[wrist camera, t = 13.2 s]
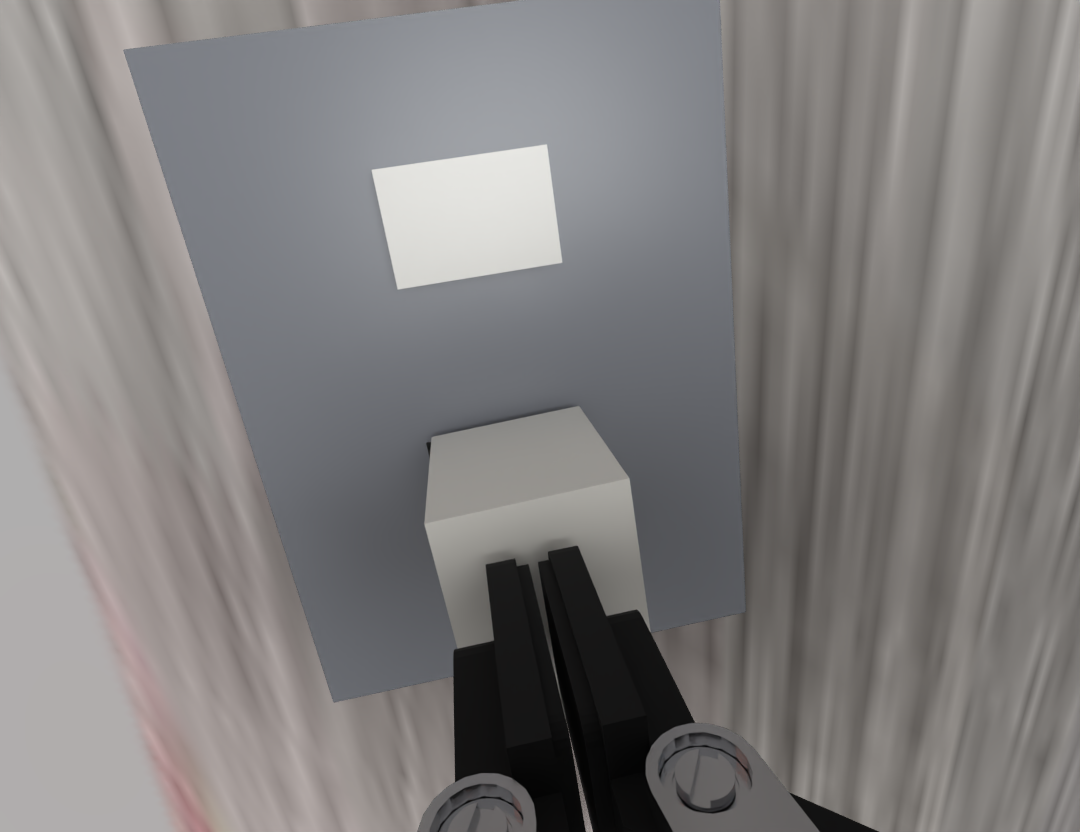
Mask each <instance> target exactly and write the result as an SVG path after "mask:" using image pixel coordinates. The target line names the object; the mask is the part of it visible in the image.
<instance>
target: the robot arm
mask: <svg viewBox="0 0 1080 832" xmlns="http://www.w3.org/2000/svg"><path fill="white" fill-rule="evenodd" d="M548 559H549V560H545V561H540V562H538V567H539V573H540V579H541V585H542V591H543V597H544V603H545V609H546V614H547V620H548V626H549V632H550V638H551V644H552V650H553V656H554V662H555V668H556V674H557V679H558V685H559V689H558V685H557V680H556V676H555V672H554V668H553V664H552V660H551V655H550V651H549V647H548V643H547V639H546V635H545V630H544V626H543V622H542V618H541V614H540V610H539V605H538V601H537V597H536V593H535V589H534V585H533V580H532V576H531V572H530V568H529V564H526V565H521V566H517V565H516V560H515V558H514V559H510V560H505V561H500V562H495V563H490V564H486V575H487V583H488V592H489V601H490V610H491V618H492V627H493V636H494V641H490V642H486V643H481V644H476V645H472V646H467V647H463V648H458V649H454V652H453V678H454V738H455V783H453V784H451V785H449V786H448V787H447V788H446V789H444V790H443V791H442V792H441V793H440V794H439V795H438V796H437V797H435V798H434V800H433V801H432V803H431V804H430V805H429V807H428V808H427V810H426V811H425V813H424V814H423V817H422V820H421V822H420V825H419V828H418V831H417V832H586V831H585V825H584V819H583V813H582V807H581V801H580V795H579V789H578V783H577V777H576V771H575V765H574V759H573V753H572V748H571V742H572V746H573V750H574V754H575V758H576V762H577V767H578V771H579V775H580V779H581V783H582V787H583V792H584V796H585V800H586V804H587V808H588V812H589V817H590V821H591V825H592V829H593V832H878V831H876V830H874V829H871V828H869V827H867V826H864V825H862V824H860V823H858V822H855V821H853V820H851V819H848V818H846V817H844V816H842V815H839V814H837V813H835V812H832V811H830V810H828V809H826V808H823V807H821V806H819V805H817V804H814V803H812V802H810V801H807V800H805V799H803V798H801V797H798V796H796V795H794V794H791V793H789V792H788V791H787V790H786V788H785V787H784V786H783V784H782V783H781V782H780V781H779V779H778V778H777V777H776V776H775V774H774V773H773V772H772V771H771V769H770V768H769V767H768V765H767V764H766V763H765V762H764V760H763V759H762V758H761V757H760V755H759V754H758V753H757V752H756V750H755V749H754V748H753V747H752V746H751V745H750V744H749V743H748V742H747V741H746V740H744V739H743V738H742V737H741V736H739V735H737V734H736V733H734V732H732V731H730V730H728V729H727V728H723V727H720V726H716V725H713V724H709V723H695V722H694V720H693V718H692V716H691V714H690V712H689V710H688V708H687V706H686V704H685V702H684V700H683V698H682V696H681V694H680V692H679V689H678V687H677V685H676V683H675V681H674V679H673V677H672V675H671V673H670V671H669V669H668V667H667V665H666V663H665V661H664V659H663V657H662V655H661V653H660V651H659V649H658V647H657V645H656V643H655V641H654V639H653V637H652V635H651V633H650V631H649V629H648V627H647V625H646V623H645V621H644V619H643V617H642V615H641V613H640V612H639V611H638V610H637V609H636V610H631V611H627V612H622V613H618V614H613V615H609V616H606V614H605V611H604V609H603V606H602V604H601V602H600V599H599V597H598V594H597V592H596V589H595V587H594V584H593V582H592V579H591V577H590V574H589V572H588V569H587V567H586V564H585V562H584V559H583V557H582V554H581V552H580V550H579V547H578V546H572V547H567V548H563V549H558V550H553V551H548ZM559 690H560V693H559ZM560 695H561V697H560ZM561 700H562V701H561ZM562 704H563V706H562ZM563 708H564V710H563ZM564 713H565V714H564ZM565 717H566V718H565ZM566 721H567V723H566ZM567 725H568V727H567ZM568 729H569V732H568ZM569 733H570V737H571V742H570V737H569Z"/></svg>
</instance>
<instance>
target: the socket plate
mask: <svg viewBox="0 0 1080 832" xmlns="http://www.w3.org/2000/svg"><path fill="white" fill-rule="evenodd" d="M124 54H125V57H126V60H127V63H128V66H129V69H130V72H131V75H132V78H133V82H134V85H135V88H136V91H137V94H138V97H139V100H140V103H141V106H142V109H143V113H144V116H145V119H146V122H147V125H148V128H149V131H150V134H151V137H152V140H153V144H154V147H155V150H156V153H157V156H158V159H159V162H160V165H161V168H162V171H163V175H164V178H165V181H166V184H167V187H168V190H169V193H170V196H171V199H172V203H173V206H174V209H175V212H176V215H177V218H178V221H179V224H180V227H181V230H182V234H183V237H184V240H185V243H186V246H187V249H188V252H189V255H190V258H191V261H192V265H193V268H194V271H195V274H196V277H197V280H198V283H199V286H200V289H201V292H202V296H203V299H204V302H205V305H206V308H207V311H208V314H209V317H210V320H211V323H212V327H213V330H214V333H215V336H216V339H217V342H218V345H219V348H220V351H221V355H222V358H223V361H224V364H225V367H226V370H227V373H228V376H229V379H230V382H231V386H232V389H233V392H234V395H235V398H236V401H237V404H238V407H239V410H240V413H241V417H242V420H243V423H244V426H245V429H246V432H247V435H248V438H249V441H250V444H251V448H252V451H253V454H254V457H255V460H256V463H257V466H258V469H259V472H260V476H261V479H262V482H263V485H264V488H265V491H266V494H267V497H268V500H269V503H270V507H271V510H272V513H273V516H274V519H275V522H276V525H277V528H278V531H279V534H280V538H281V541H282V544H283V547H284V550H285V553H286V556H287V559H288V562H289V565H290V569H291V572H292V575H293V578H294V581H295V584H296V587H297V590H298V593H299V597H300V600H301V603H302V606H303V609H304V612H305V615H306V618H307V621H308V624H309V628H310V631H311V634H312V637H313V640H314V643H315V646H316V649H317V652H318V655H319V659H320V662H321V665H322V668H323V671H324V674H325V677H326V680H327V683H328V686H329V690H330V693H331V696H332V699H333V702H339V701H343V700H348V699H352V698H357V697H361V696H366V695H370V694H375V693H380V692H384V691H389V690H393V689H398V688H402V687H407V686H411V685H416V684H421V683H425V682H430V681H434V680H439V679H443V678H448V677H452V676H453V652H454V649H457V645H456V641H455V637H454V634H453V630H452V626H451V622H450V619H449V615H448V611H447V607H446V604H445V600H444V596H443V592H442V589H441V585H440V581H439V577H438V574H437V570H436V566H435V562H434V559H433V555H432V551H431V547H430V544H429V540H428V536H427V532H426V529H425V525H424V521H425V510H426V498H427V486H428V474H429V462H430V450H431V438H432V437H434V436H439V435H443V434H448V433H453V432H457V431H462V430H467V429H472V428H476V427H481V426H486V425H490V424H495V423H500V422H505V421H509V420H514V419H519V418H524V417H528V416H533V415H538V414H542V413H547V412H552V411H557V410H561V409H566V408H571V407H576V406H580V408H581V409H582V411H583V412H584V414H585V415H586V417H587V418H588V419H589V421H590V422H591V424H592V425H593V427H594V428H595V429H596V431H597V432H598V434H599V435H600V437H601V438H602V440H603V441H604V442H605V444H606V445H607V447H608V448H609V450H610V451H611V452H612V454H613V455H614V457H615V458H616V460H617V461H618V463H619V464H620V465H621V467H622V468H623V470H624V471H625V473H626V474H627V475H628V477H629V479H630V486H631V493H632V500H633V508H634V515H635V522H636V529H637V536H638V544H639V551H640V558H641V565H642V573H643V580H644V587H645V594H646V602H647V609H648V616H649V623H650V630H651V633H652V632H657V631H662V630H666V629H671V628H675V627H680V626H684V625H689V624H693V623H698V622H702V621H707V620H712V619H716V618H721V617H725V616H730V615H734V614H739V613H743V612H746V601H745V577H744V554H743V531H742V507H741V484H740V461H739V437H738V414H737V391H736V367H735V344H734V321H733V297H732V274H731V250H730V227H729V204H728V180H727V157H726V134H725V110H724V87H723V64H722V40H721V17H720V0H520V1H512V2H504V3H496V4H488V5H480V6H472V7H464V8H456V9H448V10H439V11H431V12H423V13H415V14H407V15H399V16H391V17H383V18H375V19H367V20H359V21H351V22H343V23H335V24H327V25H318V26H310V27H302V28H294V29H286V30H278V31H270V32H262V33H254V34H246V35H238V36H230V37H222V38H214V39H206V40H197V41H189V42H181V43H173V44H165V45H157V46H149V47H141V48H133V49H125V50H124Z"/></svg>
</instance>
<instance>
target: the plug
mask: <svg viewBox="0 0 1080 832" xmlns="http://www.w3.org/2000/svg"><path fill="white" fill-rule="evenodd" d="M424 525H425V529H426V532H427V536H428V540H429V544H430V547H431V551H432V555H433V559H434V562H435V566H436V570H437V574H438V577H439V581H440V585H441V589H442V592H443V596H444V600H445V604H446V607H447V611H448V615H449V619H450V622H451V626H452V630H453V634H454V637H455V641H456V645H457V649H458V648H463V647H467V646H472V645H476V644H481V643H486V642H490V641H494V636H493V627H492V618H491V610H490V601H489V592H488V583H487V575H486V564H490V563H495V562H500V561H505V560H510V559H514V558H515V560H516V565H517V566H521V565H526V564H529V568H530V572H531V576H532V580H533V585H534V589H535V593H536V597H537V601H538V605H539V610H540V614H541V618H542V622H543V626H544V630H545V635H546V639H547V643H548V647H549V651H550V655H551V660H552V664H553V668H554V672H555V676H556V680H557V685H558V679H557V674H556V668H555V662H554V656H553V650H552V644H551V638H550V632H549V626H548V620H547V614H546V609H545V603H544V597H543V591H542V585H541V579H540V573H539V567H538V562H540V561H545V560H549V559H548V551H553V550H558V549H563V548H567V547H572V546H578V547H579V550H580V552H581V554H582V557H583V559H584V562H585V564H586V567H587V569H588V572H589V574H590V577H591V579H592V582H593V584H594V587H595V589H596V592H597V594H598V597H599V599H600V602H601V604H602V606H603V609H604V611H605V614H606V616H609V615H613V614H618V613H622V612H627V611H631V610H636V609H637V610H638V611H639V612H640V613H641V615H642V617H643V619H644V621H645V623H646V625H647V627H648V629H649V631H650V633H651V630H650V623H649V616H648V609H647V602H646V594H645V587H644V580H643V573H642V565H641V558H640V551H639V544H638V536H637V529H636V522H635V515H634V508H633V500H632V493H631V486H630V479H629V477H628V475H627V474H626V473H625V471H624V470H623V468H622V467H621V465H620V464H619V463H618V461H617V460H616V458H615V457H614V455H613V454H612V452H611V451H610V450H609V448H608V447H607V445H606V444H605V442H604V441H603V440H602V438H601V437H600V435H599V434H598V432H597V431H596V429H595V428H594V427H593V425H592V424H591V422H590V421H589V419H588V418H587V417H586V415H585V414H584V412H583V411H582V409H581V408H580V406H576V407H571V408H566V409H561V410H557V411H552V412H547V413H542V414H538V415H533V416H528V417H524V418H519V419H514V420H509V421H505V422H500V423H495V424H490V425H486V426H481V427H476V428H472V429H467V430H462V431H457V432H453V433H448V434H443V435H439V436H434V437H432V438H431V450H430V462H429V474H428V486H427V498H426V510H425V521H424ZM558 689H559V685H558ZM559 693H560V690H559ZM560 697H561V695H560ZM561 701H562V700H561ZM562 706H563V704H562ZM563 710H564V708H563ZM564 714H565V713H564ZM565 718H566V717H565Z"/></svg>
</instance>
